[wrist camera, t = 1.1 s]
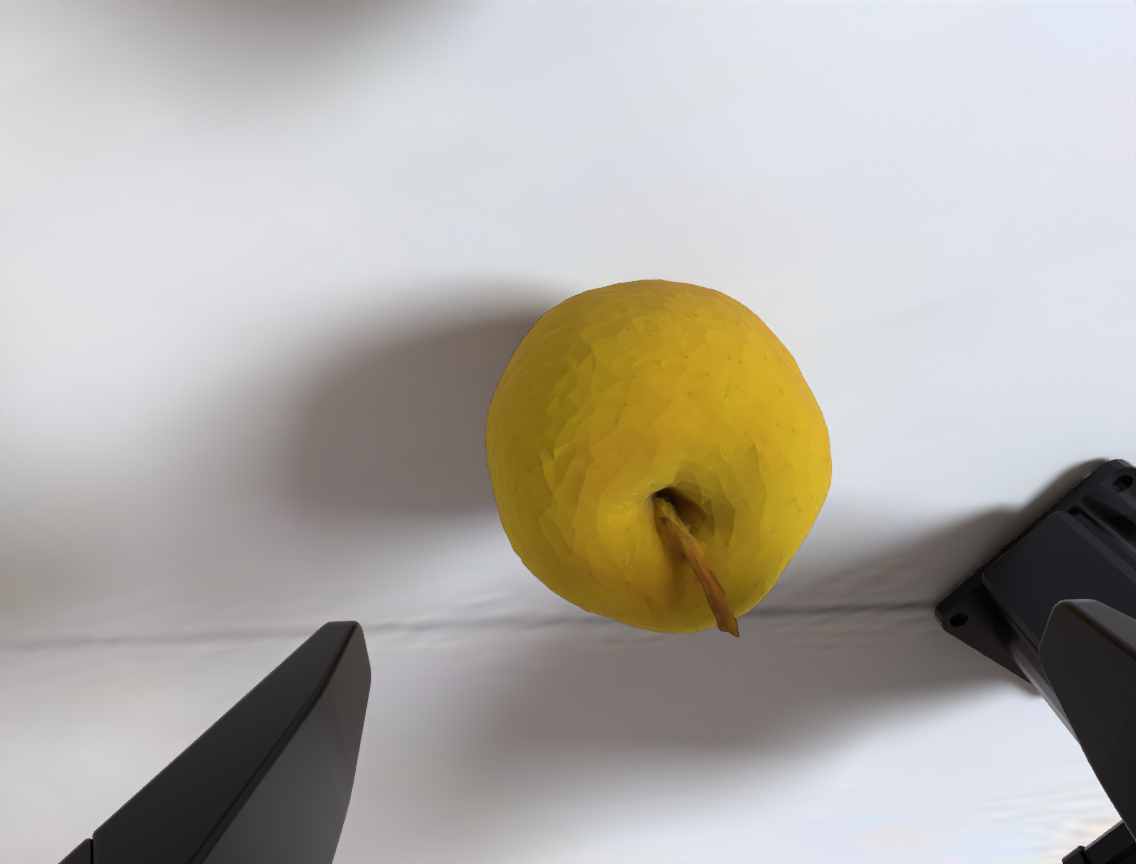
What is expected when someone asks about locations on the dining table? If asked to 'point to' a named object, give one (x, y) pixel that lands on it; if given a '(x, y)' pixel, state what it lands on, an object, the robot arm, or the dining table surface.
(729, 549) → the apple
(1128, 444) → the dining table surface
